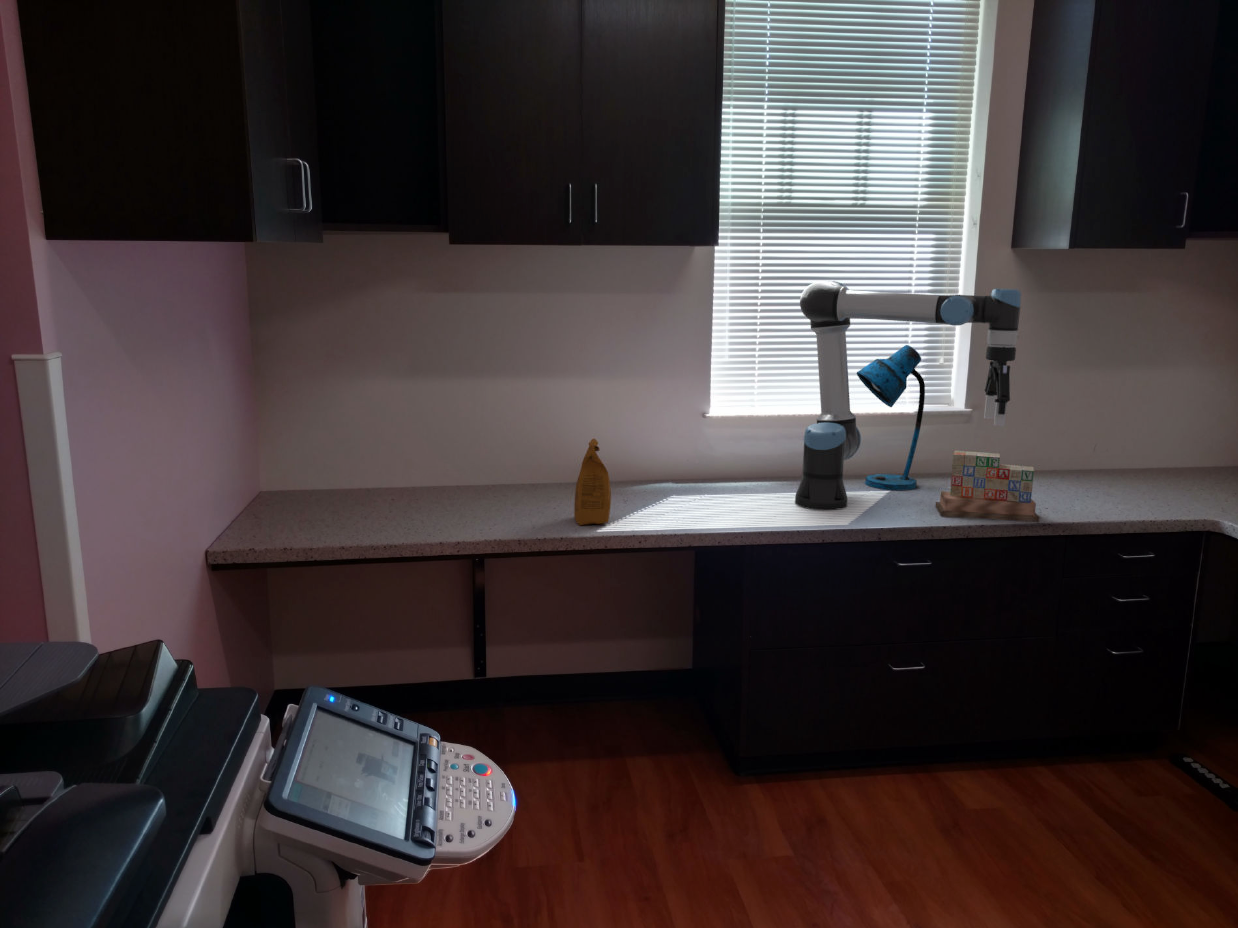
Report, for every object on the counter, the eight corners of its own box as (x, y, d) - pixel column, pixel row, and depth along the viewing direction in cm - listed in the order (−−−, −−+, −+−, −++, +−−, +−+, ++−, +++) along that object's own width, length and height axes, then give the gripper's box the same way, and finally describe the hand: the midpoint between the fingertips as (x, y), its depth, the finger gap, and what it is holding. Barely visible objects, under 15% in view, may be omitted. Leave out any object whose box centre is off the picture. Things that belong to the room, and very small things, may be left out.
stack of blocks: (1030, 498, 264) (1035, 456, 261) (1030, 503, 258) (1035, 460, 255) (951, 491, 272) (954, 449, 269) (949, 495, 266) (952, 453, 264)
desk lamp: (843, 479, 309) (852, 342, 300) (908, 479, 310) (919, 343, 301) (858, 490, 293) (868, 346, 284) (927, 490, 294) (938, 347, 285)
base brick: (941, 516, 263) (942, 499, 262) (935, 506, 274) (936, 490, 273) (1038, 521, 258) (1040, 504, 257) (1029, 511, 269) (1030, 495, 268)
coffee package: (610, 514, 261) (611, 437, 256) (610, 526, 248) (611, 445, 244) (575, 514, 260) (575, 437, 256) (573, 526, 248) (573, 445, 244)
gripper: (1026, 349, 244) (1018, 430, 248) (1005, 342, 268) (998, 415, 272) (996, 349, 245) (989, 428, 249) (978, 342, 269) (971, 414, 273)
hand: (994, 422), depth 261 cm, fingers open, 13 cm apart
